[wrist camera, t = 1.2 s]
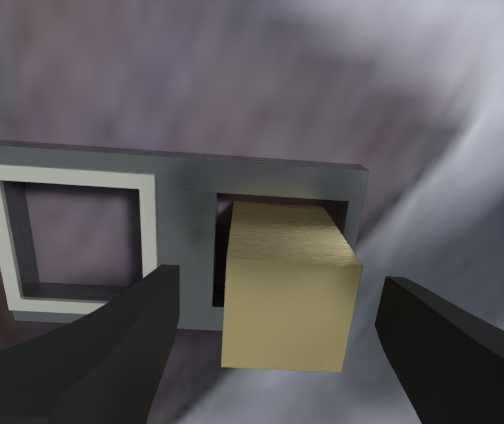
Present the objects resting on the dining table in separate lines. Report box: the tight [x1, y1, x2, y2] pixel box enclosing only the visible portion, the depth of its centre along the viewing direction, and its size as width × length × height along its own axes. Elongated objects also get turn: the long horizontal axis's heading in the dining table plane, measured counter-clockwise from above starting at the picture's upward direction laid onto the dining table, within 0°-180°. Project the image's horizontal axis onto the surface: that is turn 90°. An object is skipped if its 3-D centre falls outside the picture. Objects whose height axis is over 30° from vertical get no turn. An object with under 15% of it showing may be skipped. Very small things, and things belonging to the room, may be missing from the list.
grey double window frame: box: [0, 140, 370, 331], centre depth 15 cm, size 15×8×1 cm, turn 86°
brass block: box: [221, 201, 363, 373], centre depth 13 cm, size 4×4×6 cm
